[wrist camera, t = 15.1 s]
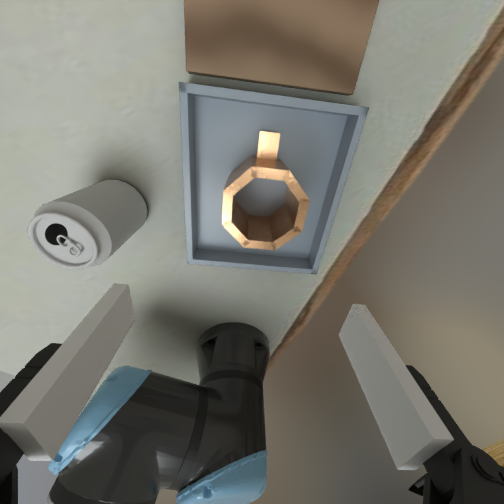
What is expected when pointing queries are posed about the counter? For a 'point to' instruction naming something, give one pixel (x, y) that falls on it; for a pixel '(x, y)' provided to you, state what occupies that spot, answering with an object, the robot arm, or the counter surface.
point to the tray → (259, 189)
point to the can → (87, 224)
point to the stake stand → (280, 41)
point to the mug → (281, 221)
